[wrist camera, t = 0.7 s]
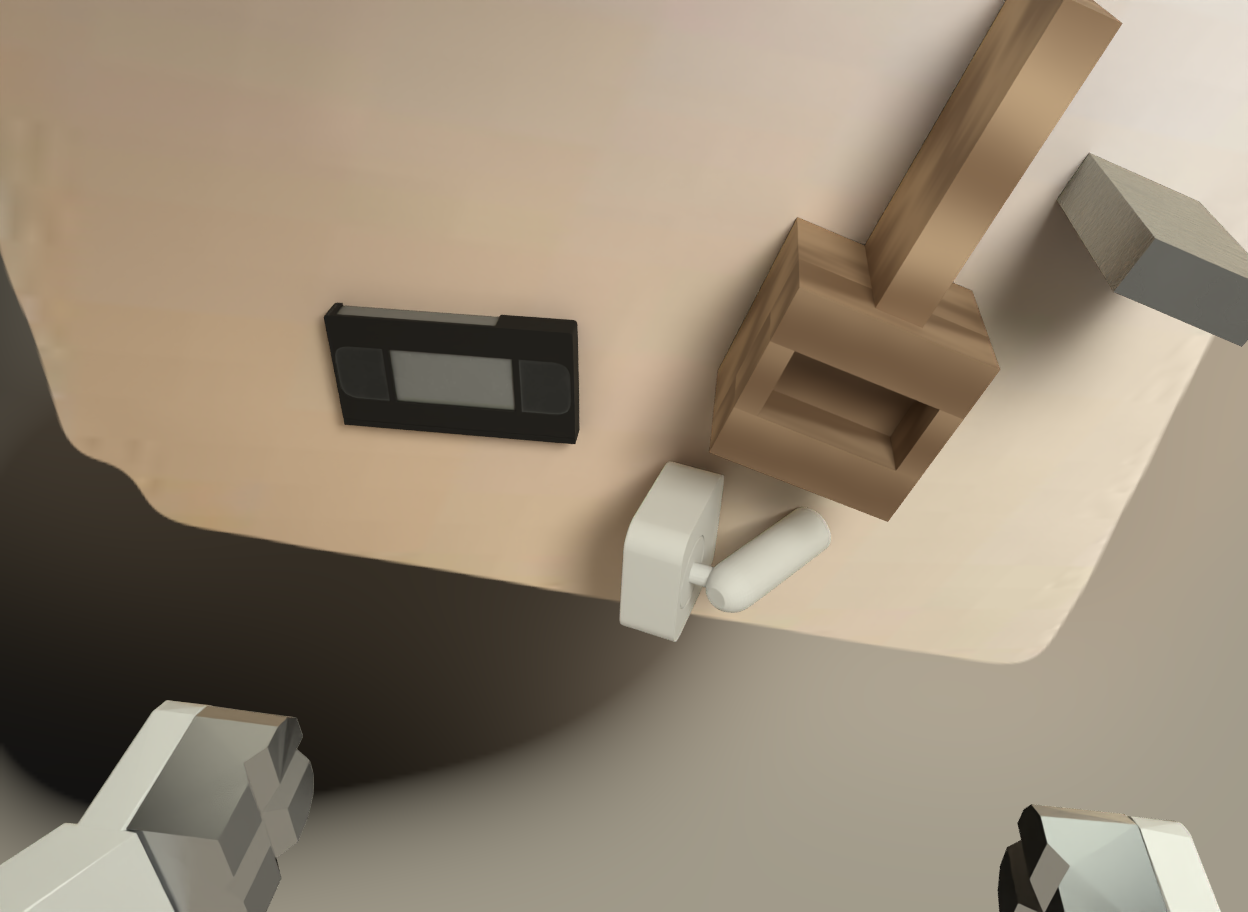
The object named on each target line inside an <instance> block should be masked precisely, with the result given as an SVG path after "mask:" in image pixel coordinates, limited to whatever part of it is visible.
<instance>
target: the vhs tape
mask: <svg viewBox="0 0 1248 912" xmlns="http://www.w3.org/2000/svg"><path fill="white" fill-rule="evenodd" d="M324 321H325V326H326V331H327V336H328V341H329V346H330V351H331V356H332V362H333V367H334V372H335V377H336V382H337V387H338V392H339V398H340V403H341V408H342V413H343V418H344V424H345V425H356V426H368V427H380V428H391V429H403V430H415V431H426V432H438V433H450V434H462V435H473V436H485V437H497V438H508V439H520V440H532V441H543V442H555V443H567V444H575V443H576V440H577V437H578V433H579V372H578V331H577V322H576V321H574V320H565V319H551V318H537V317H524V316H510V315H500V317H491V316H478V315H464V314H451V313H437V312H423V311H410V310H396V309H383V308H369V307H356V306H343V303H335V304H334V305H333V306H332V307H331V309H330V310H329V311H328V312H327V313H326V315H325V316H324Z"/></svg>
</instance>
